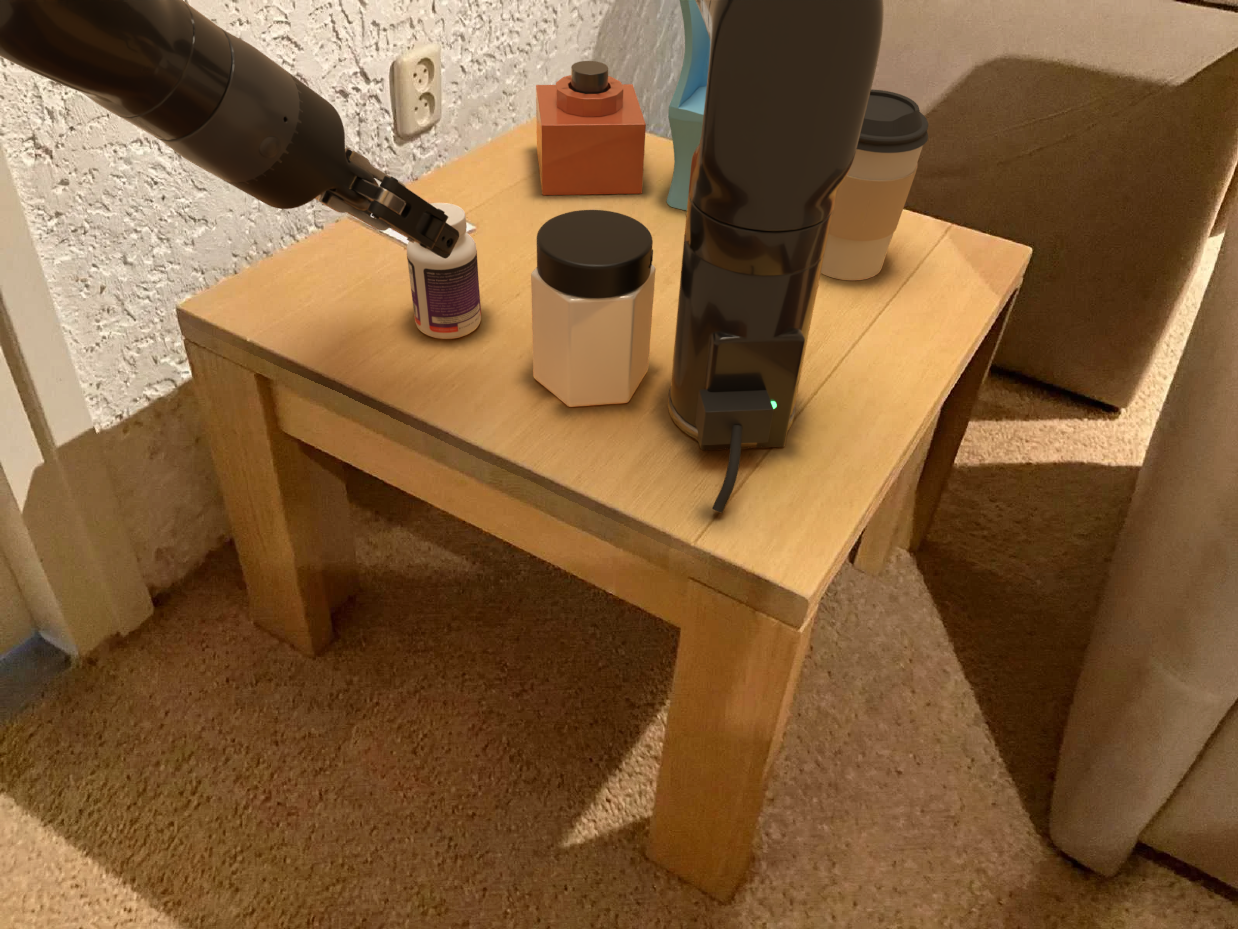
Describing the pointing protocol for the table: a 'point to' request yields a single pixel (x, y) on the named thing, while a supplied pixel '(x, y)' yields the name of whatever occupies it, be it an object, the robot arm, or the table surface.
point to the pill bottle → (446, 283)
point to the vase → (688, 102)
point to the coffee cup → (875, 187)
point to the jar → (592, 306)
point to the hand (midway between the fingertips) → (409, 225)
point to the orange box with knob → (589, 139)
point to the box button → (589, 77)
